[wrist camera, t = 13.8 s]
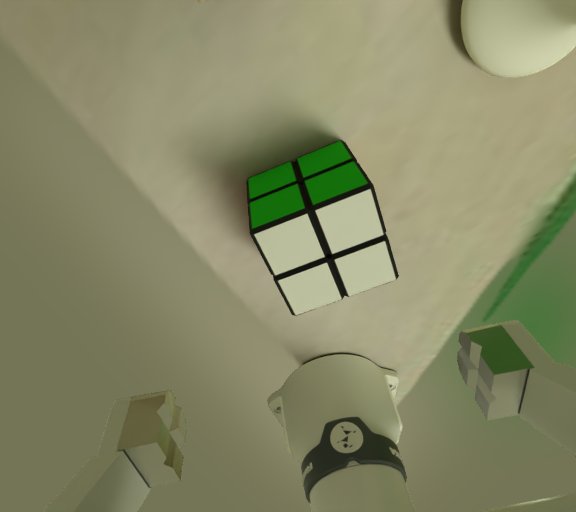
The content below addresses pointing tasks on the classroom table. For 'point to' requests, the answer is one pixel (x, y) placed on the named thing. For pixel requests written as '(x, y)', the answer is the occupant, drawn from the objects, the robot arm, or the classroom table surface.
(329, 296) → the puzzle cube
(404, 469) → the robot arm
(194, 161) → the classroom table surface
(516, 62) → the flower in vase
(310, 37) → the classroom table surface
